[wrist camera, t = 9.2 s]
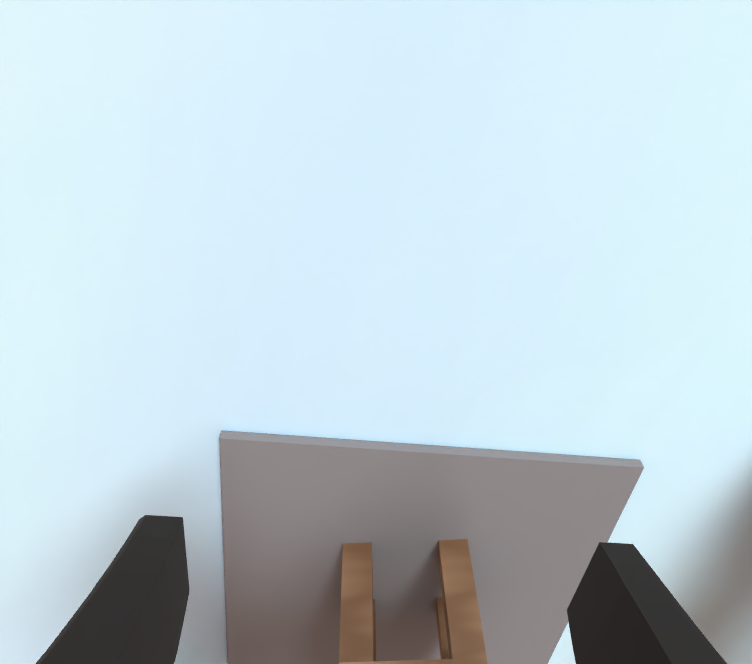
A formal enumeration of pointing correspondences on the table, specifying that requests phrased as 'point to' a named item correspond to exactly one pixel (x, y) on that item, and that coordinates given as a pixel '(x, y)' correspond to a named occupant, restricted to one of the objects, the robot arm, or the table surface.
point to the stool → (453, 609)
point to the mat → (405, 541)
